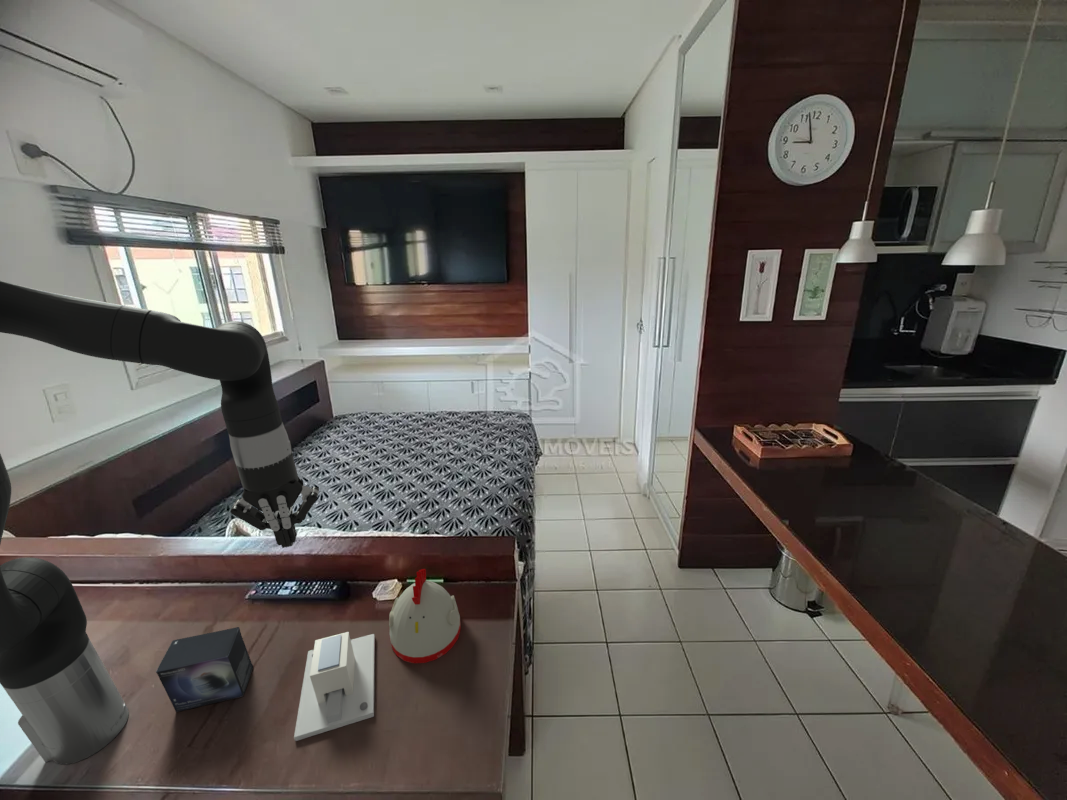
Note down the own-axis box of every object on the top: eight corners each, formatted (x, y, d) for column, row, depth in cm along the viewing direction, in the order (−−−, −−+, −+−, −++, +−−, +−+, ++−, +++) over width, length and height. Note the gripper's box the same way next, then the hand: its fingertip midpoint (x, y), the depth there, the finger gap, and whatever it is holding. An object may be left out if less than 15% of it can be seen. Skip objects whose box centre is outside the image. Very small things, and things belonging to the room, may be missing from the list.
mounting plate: (295, 741, 70) (291, 730, 69) (309, 654, 84) (306, 645, 83) (373, 716, 74) (371, 706, 73) (374, 637, 88) (372, 627, 87)
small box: (173, 716, 74) (152, 673, 70) (190, 680, 80) (171, 638, 76) (243, 698, 77) (227, 656, 73) (254, 665, 83) (239, 624, 79)
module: (318, 704, 75) (309, 674, 72) (322, 667, 81) (314, 639, 78) (353, 693, 76) (345, 664, 74) (355, 658, 83) (348, 630, 80)
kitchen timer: (382, 664, 82) (370, 605, 77) (400, 605, 95) (390, 550, 90) (456, 661, 83) (449, 602, 77) (464, 603, 96) (459, 548, 90)
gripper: (204, 473, 62) (237, 568, 69) (307, 458, 66) (328, 549, 72) (221, 449, 69) (250, 538, 75) (313, 436, 73) (332, 522, 79)
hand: (288, 543), depth 74 cm, fingers closed
